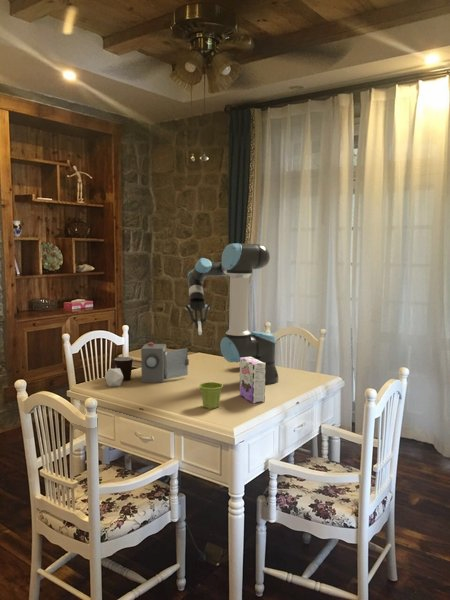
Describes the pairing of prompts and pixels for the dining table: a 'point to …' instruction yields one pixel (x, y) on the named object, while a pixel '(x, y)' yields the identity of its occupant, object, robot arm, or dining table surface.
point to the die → (114, 377)
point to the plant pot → (211, 394)
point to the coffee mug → (124, 366)
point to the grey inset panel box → (152, 362)
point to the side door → (175, 363)
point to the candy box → (252, 379)
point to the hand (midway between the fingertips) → (200, 333)
